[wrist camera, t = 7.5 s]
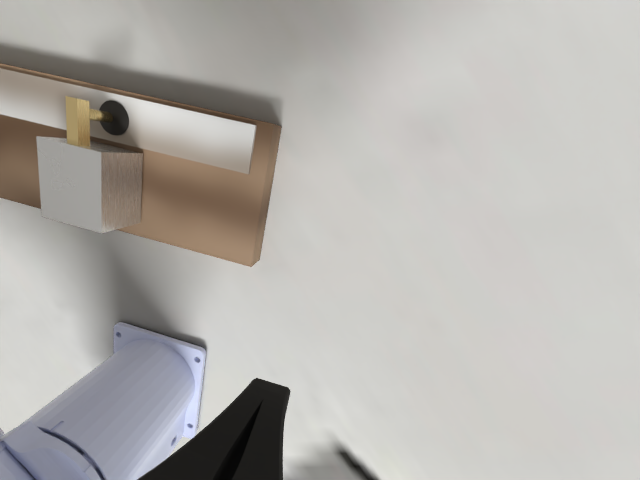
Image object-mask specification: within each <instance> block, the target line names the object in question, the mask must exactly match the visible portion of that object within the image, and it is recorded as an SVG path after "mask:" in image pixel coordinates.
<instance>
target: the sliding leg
mask: <svg viewBox="0 0 640 480" xmlns="http://www.w3.org/2000/svg"><path fill="white" fill-rule="evenodd" d="M65 98H66V124H67V138H54V137H40V136H36V139H37V154H38V169H39V184H40V199H41V213H42V217H44V218H48V219H52V220H55V221H59V222H62V223H66V224H69V225H73V226H77V227H80V228H84V229H87V230H91V231H94V232H98V233H105V232H109V231H113V230H116V229H120V228H124V227H127V226H131V225H135V224H138V223H140V221H141V193H142V164H143V153H139V152H135V151H131V150H127V149H123V148H119V147H115V146H111V145H106V144H102V143H98V142H94V141H90V120H94V121H101V122H108V123H110V122H112V121H113V116H112V114H111V113H110V112H105V111H100V110H94V109H89V101H86V100H82V99H78V98H73V97H68V96H65Z"/></svg>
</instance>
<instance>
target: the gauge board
mask: <svg viewBox="0 0 640 480" xmlns="http://www.w3.org/2000/svg"><path fill="white" fill-rule="evenodd" d="M65 96H68V97H73V98H78V99H82V100H86V101H89V109H94V110H100V111H105V112H110V113H111V114H112V116H113V121H112V122H110V123H108V122H101V121H94V120H90V141H94V142H98V143H102V144H106V145H111V146H115V147H119V148H123V149H127V150H131V151H135V152H139V153H143V164H142V193H141V221H140V223H138V224H135V225H131V226H127V227H124V228H120V229H116V230H120V231H123V232H127V233H131V234H134V235H138V236H141V237H145V238H149V239H152V240H156V241H159V242H163V243H167V244H170V245H174V246H177V247H181V248H185V249H188V250H192V251H196V252H199V253H203V254H206V255H210V256H214V257H217V258H221V259H224V260H228V261H232V262H235V263H239V264H243V265H246V266H250V267H252V266H253V265H254V264H255V263H256V262H257V261H259V260H260V254H261V248H262V242H263V236H264V230H265V224H266V218H267V212H268V206H269V200H270V194H271V188H272V182H273V175H274V169H275V163H276V157H277V151H278V145H279V139H280V133H281V126H278V125H276V124H272V123H268V122H263V121H259V120H254V119H250V118H245V117H241V116H236V115H232V114H227V113H223V112H218V111H214V110H209V109H205V108H200V107H196V106H191V105H187V104H182V103H178V102H173V101H168V100H164V99H159V98H155V97H150V96H146V95H141V94H137V93H132V92H128V91H123V90H119V89H114V88H110V87H105V86H101V85H96V84H92V83H87V82H83V81H78V80H74V79H69V78H65V77H60V76H56V75H51V74H47V73H42V72H38V71H33V70H29V69H24V68H20V67H15V66H11V65H6V64H2V63H0V198H4V199H8V200H11V201H15V202H19V203H22V204H26V205H29V206H33V207H37V208H40V209H41V199H40V184H39V169H38V154H37V139H36V136H40V137H54V138H67V124H66V98H65Z"/></svg>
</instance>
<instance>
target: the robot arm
mask: <svg viewBox="0 0 640 480" xmlns="http://www.w3.org/2000/svg"><path fill="white" fill-rule="evenodd" d="M197 357H198V358H199V359H198V358H197ZM205 358H206V351H205V349H204V348H202V347H200V346H197V345H193V344H190V343H187V342H184V341H181V340H177V339H174V338H171V337H168V336H165V335H161V334H158V333H155V332H152V331H149V330H145V329H142V328H139V327H136V326H133V325H129V324H126V323H123V322H119V323H117V324H115V325H114V353H113V355H112V356H111V357H110V358H108V359H107V360H106V361H104V362H103V363H102V364H100V365H99V366H98V367H96V368H95V369H94V370H92V371H91V372H90V373H88V374H87V375H86V376H84V377H83V378H82V379H80V380H79V381H78V382H76V383H75V384H74V385H72V386H71V387H70V388H68V389H67V390H66V391H64V392H63V393H62V394H60V395H59V396H58V397H57V398H55V399H54V400H53V401H51V402H50V403H49V404H47V405H46V406H45V407H43V408H42V409H41V410H39V411H38V412H37V413H35V414H34V415H33V416H31V417H30V418H29V419H27V420H26V421H25V422H23V423H22V424H21V425H19V426H18V427H16V428H14V429H13V430H11V431H9V432H8V433H6V434H4V432H3V431H2V430H1V428H0V480H283V430H284V419H285V414H286V410H287V405H288V400H289V396H290V390H289V388H288V387H285V386H281V385H278V384H275V383H271V382H268V381H265V380H262V379H258V378H256V379H254V380H253V381H252V382H251V383H250V384H249V385H248V386H247V387H246V389H245V390H244V391H243V392H242V393H241V394H240V395H239V396H238V397H237V398H236V399H235V400H234V401H233V402H232V403H231V404H230V405H229V406H228V407H227V408H226V409H225V410H224V411H223V412H222V413H221V414H220V415H219V416H217V417H216V418H215V419H214V420H213V421H212V422H211V423H210V424H209V425H208V426H206V427H205V428H204V429H203V430H202V431H201V432H199V433H198V434H197V435H196V433H197V425H198V417H199V408H200V400H201V392H202V383H203V375H204V367H205ZM3 434H4V435H3ZM195 435H196V436H195ZM182 436H184V437H186V438H190V439H191V438H192V439H191V440H190V441H189V442H187V443H186V444H185V445H184V446H182V447H181V448H180V449H179V450H177V451H176V452H175V453H173V454H172V455H171V456H170V457H169V455H170V454H171V452H172V451H173V449H174V448H175V446H176V445H177V443H178V442H179V441H180V439H181V438H182Z"/></svg>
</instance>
